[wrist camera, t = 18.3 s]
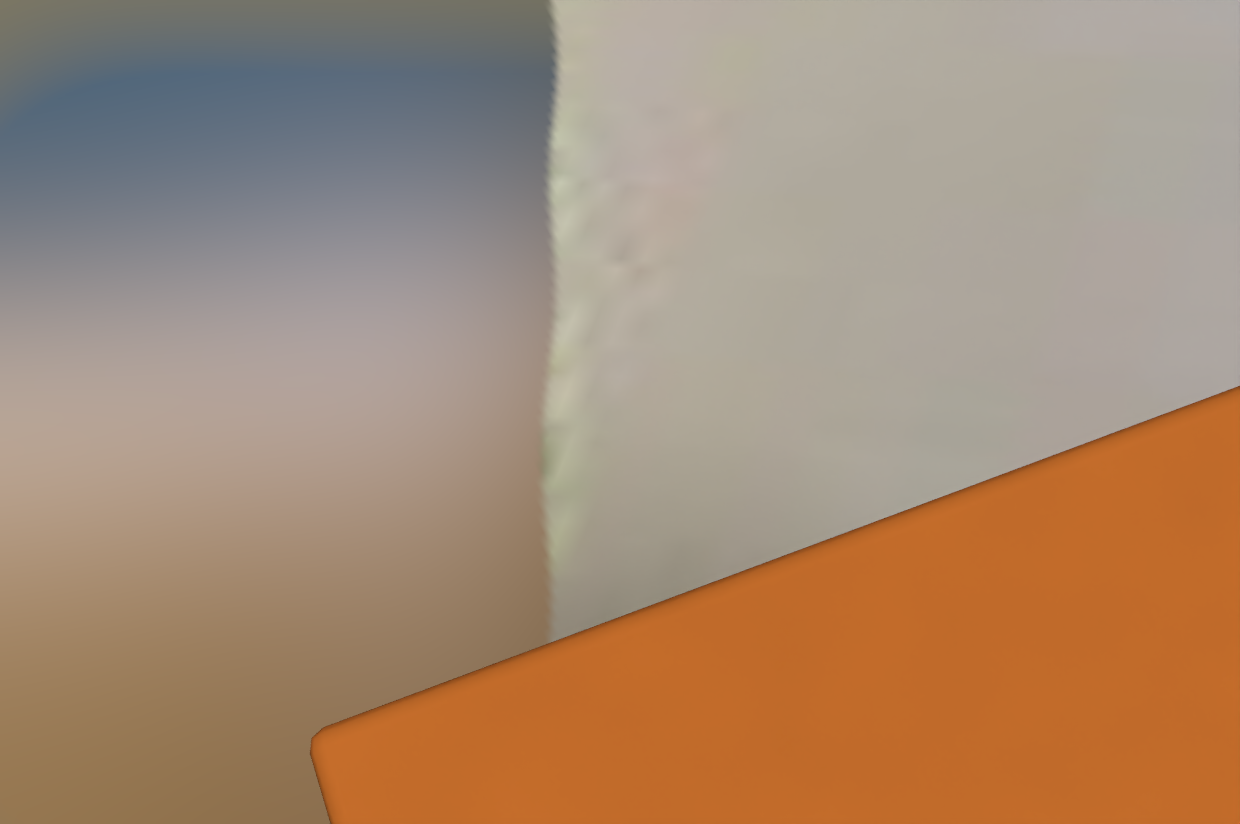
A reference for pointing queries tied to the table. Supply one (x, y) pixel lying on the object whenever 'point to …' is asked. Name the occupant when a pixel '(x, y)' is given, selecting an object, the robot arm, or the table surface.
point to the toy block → (878, 672)
